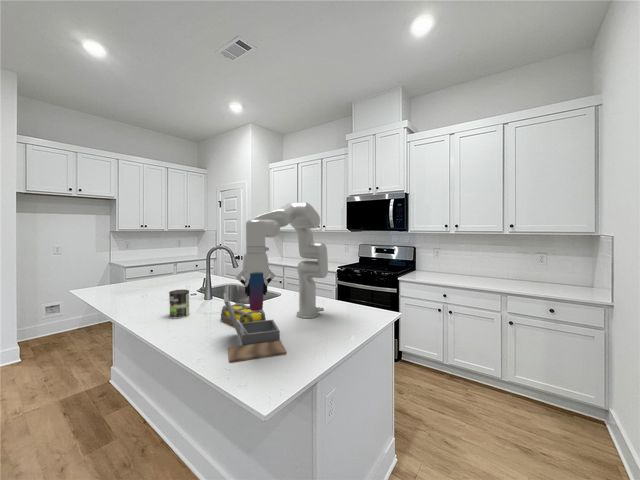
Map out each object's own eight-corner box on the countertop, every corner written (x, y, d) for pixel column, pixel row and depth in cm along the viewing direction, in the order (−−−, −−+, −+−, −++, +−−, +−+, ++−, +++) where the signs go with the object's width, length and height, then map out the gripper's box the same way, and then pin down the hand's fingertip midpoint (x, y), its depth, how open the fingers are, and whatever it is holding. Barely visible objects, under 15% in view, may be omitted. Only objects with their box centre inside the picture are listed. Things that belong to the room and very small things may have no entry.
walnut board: (280, 342, 127) (280, 340, 127) (286, 354, 116) (286, 351, 115) (227, 349, 119) (227, 347, 119) (229, 362, 108) (229, 360, 108)
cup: (249, 306, 120) (248, 271, 119) (265, 306, 120) (265, 270, 119) (246, 311, 113) (245, 273, 112) (263, 311, 113) (263, 273, 113)
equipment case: (272, 329, 143) (272, 305, 142) (279, 341, 128) (279, 315, 127) (234, 334, 136) (234, 309, 136) (236, 347, 121) (236, 319, 121)
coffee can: (179, 319, 157) (178, 294, 156) (165, 317, 161) (164, 292, 160) (193, 314, 167) (193, 290, 166) (180, 312, 170) (180, 288, 170)
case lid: (225, 292, 134) (223, 293, 134) (227, 301, 119) (224, 302, 119) (238, 322, 137) (235, 324, 137) (241, 335, 122) (238, 336, 122)
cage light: (238, 300, 168) (271, 310, 148) (238, 313, 169) (271, 325, 149) (215, 305, 157) (247, 317, 137) (215, 320, 158) (247, 333, 138)
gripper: (275, 249, 122) (275, 291, 123) (232, 250, 116) (233, 294, 117) (279, 250, 115) (279, 295, 116) (233, 252, 109) (234, 299, 110)
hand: (256, 294), depth 116 cm, fingers closed on cup, 6 cm apart
